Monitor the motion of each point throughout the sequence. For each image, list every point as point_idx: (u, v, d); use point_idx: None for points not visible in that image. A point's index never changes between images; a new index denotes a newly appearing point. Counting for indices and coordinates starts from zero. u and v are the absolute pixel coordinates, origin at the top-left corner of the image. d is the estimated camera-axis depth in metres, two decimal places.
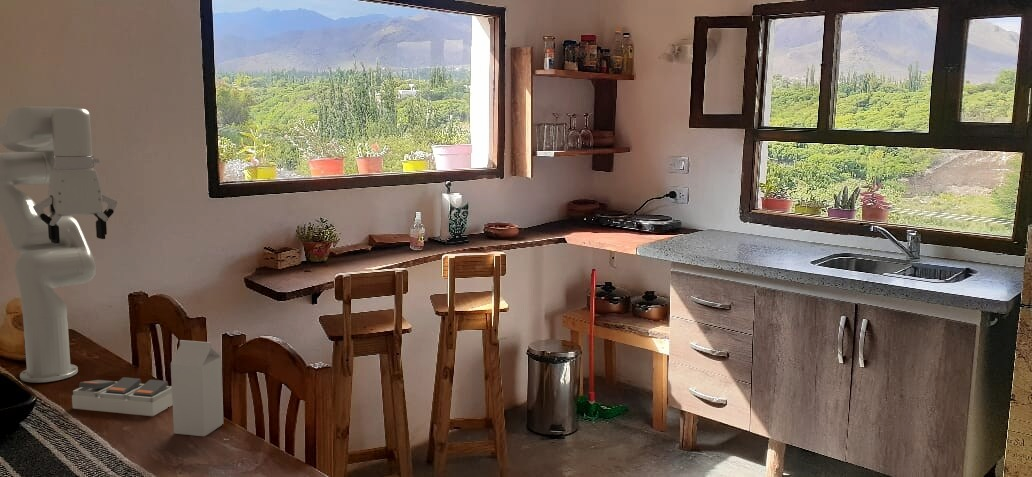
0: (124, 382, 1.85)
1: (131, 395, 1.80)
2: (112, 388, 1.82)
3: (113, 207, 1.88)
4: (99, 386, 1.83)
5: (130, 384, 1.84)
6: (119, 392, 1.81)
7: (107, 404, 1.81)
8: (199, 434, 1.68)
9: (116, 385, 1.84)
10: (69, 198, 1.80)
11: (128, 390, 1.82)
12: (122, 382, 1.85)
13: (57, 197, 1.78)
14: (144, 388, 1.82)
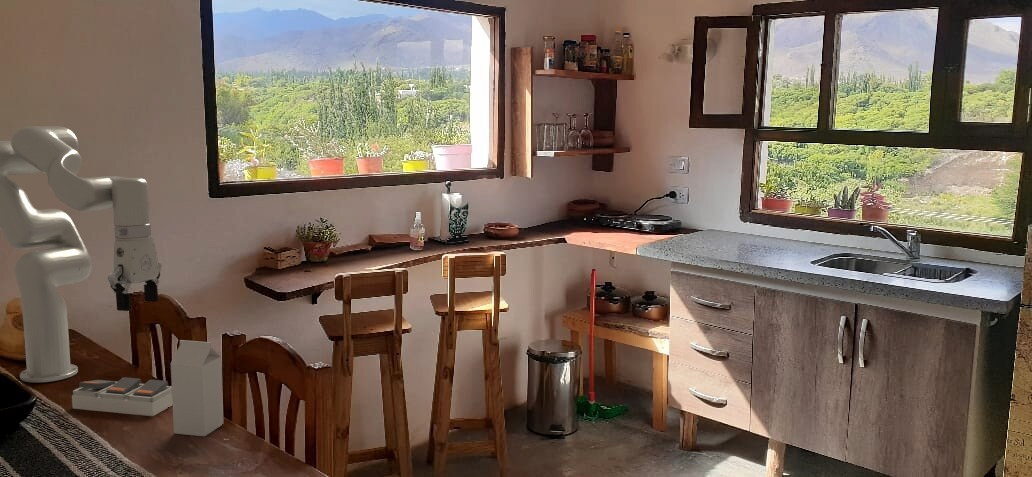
0: (124, 382, 1.85)
1: (131, 395, 1.80)
2: (112, 388, 1.82)
3: None
4: (99, 386, 1.83)
5: (130, 384, 1.84)
6: (119, 392, 1.81)
7: (107, 404, 1.81)
8: (199, 434, 1.68)
9: (116, 385, 1.84)
10: None
11: (128, 390, 1.82)
12: (122, 382, 1.85)
13: None
14: (144, 388, 1.82)
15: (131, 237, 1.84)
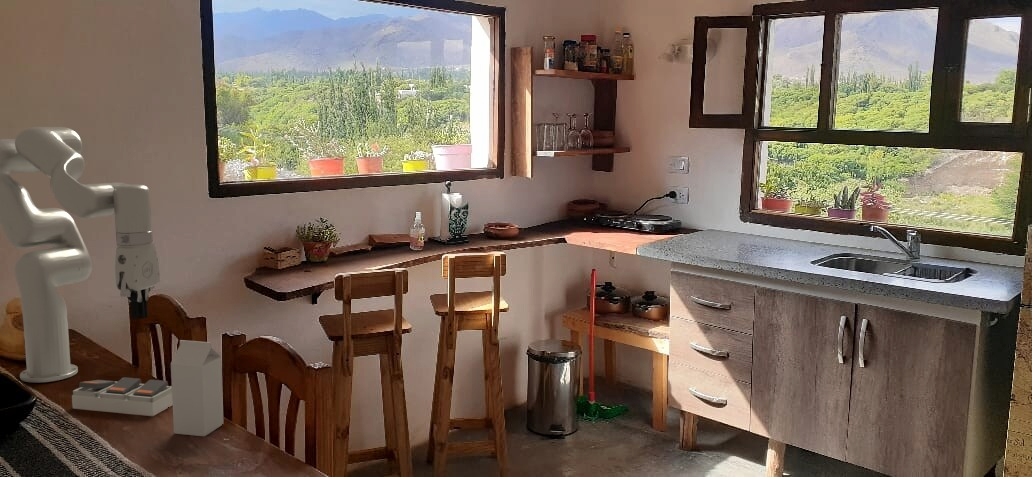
0: (124, 382, 1.85)
1: (131, 395, 1.80)
2: (112, 388, 1.82)
3: None
4: (99, 386, 1.83)
5: (130, 384, 1.84)
6: (119, 392, 1.81)
7: (107, 404, 1.81)
8: (199, 434, 1.68)
9: (116, 385, 1.84)
10: None
11: (128, 390, 1.82)
12: (122, 382, 1.85)
13: None
14: (144, 388, 1.82)
15: (133, 244, 1.83)
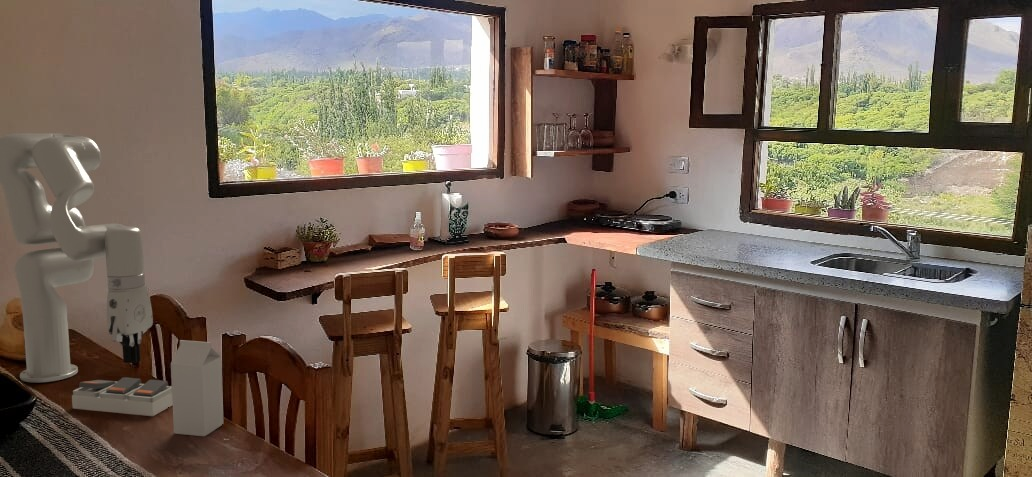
0: (124, 382, 1.85)
1: (131, 395, 1.80)
2: (112, 388, 1.82)
3: None
4: (99, 386, 1.83)
5: (130, 384, 1.84)
6: (119, 392, 1.81)
7: (107, 404, 1.81)
8: (199, 434, 1.68)
9: (116, 385, 1.84)
10: None
11: (128, 390, 1.82)
12: (122, 382, 1.85)
13: None
14: (144, 388, 1.82)
15: (124, 288, 1.80)
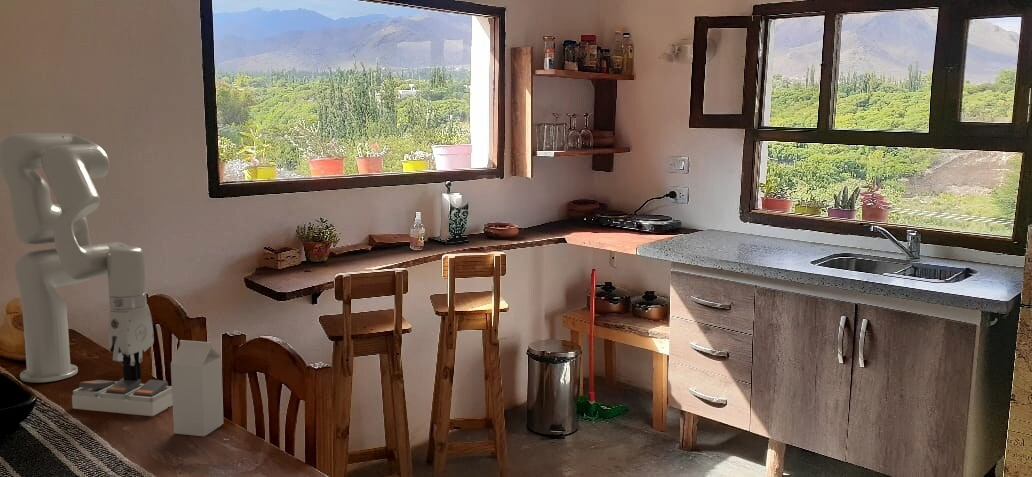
0: (124, 382, 1.85)
1: (131, 395, 1.80)
2: (112, 388, 1.82)
3: None
4: (99, 386, 1.83)
5: (130, 384, 1.84)
6: (119, 392, 1.81)
7: (107, 404, 1.81)
8: (199, 434, 1.68)
9: (116, 385, 1.84)
10: None
11: (128, 390, 1.82)
12: (122, 382, 1.85)
13: None
14: (144, 388, 1.82)
15: (126, 308, 1.81)
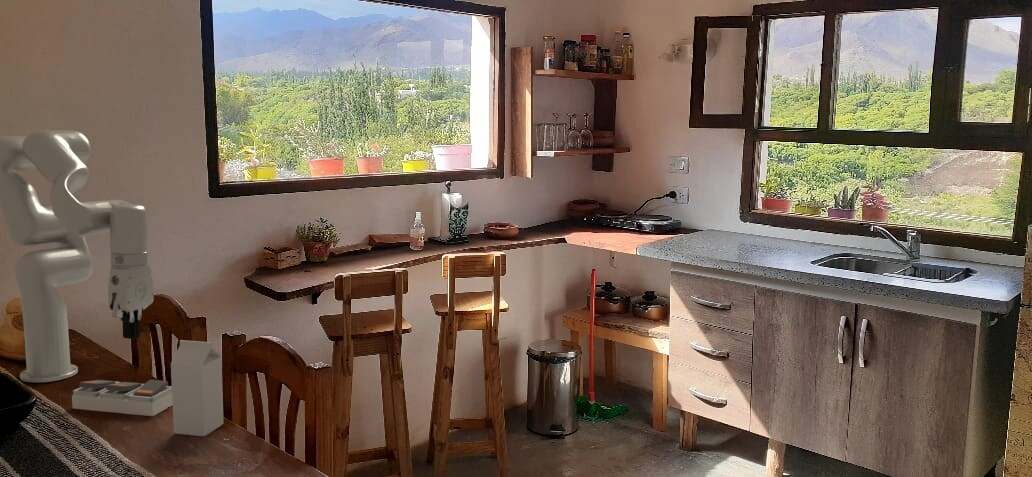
0: (125, 383, 1.85)
1: (131, 395, 1.80)
2: (113, 384, 1.82)
3: None
4: (99, 386, 1.83)
5: (131, 384, 1.84)
6: (119, 387, 1.81)
7: (107, 404, 1.81)
8: (199, 434, 1.68)
9: (117, 384, 1.84)
10: None
11: (128, 387, 1.82)
12: (123, 383, 1.85)
13: None
14: (144, 388, 1.82)
15: (127, 265, 1.82)
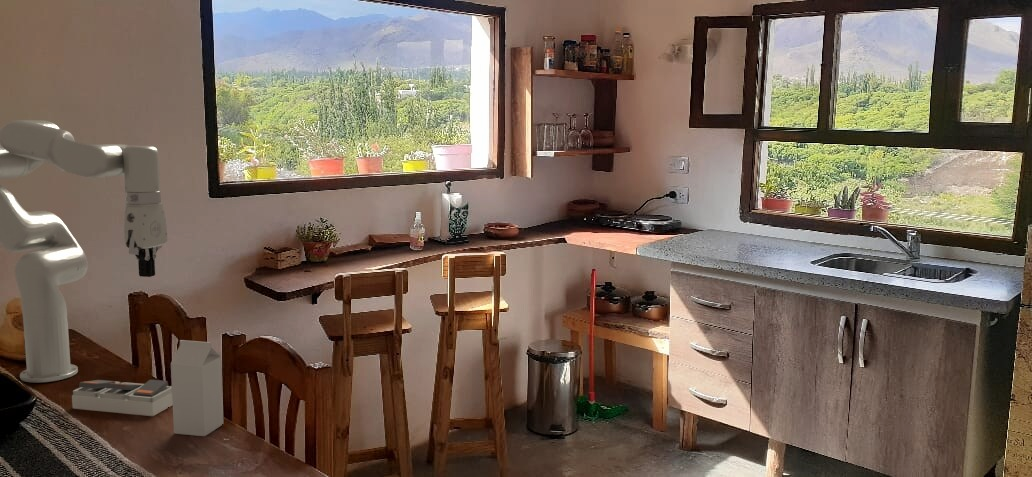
0: None
1: (131, 395, 1.80)
2: (113, 383, 1.82)
3: None
4: (99, 386, 1.83)
5: (131, 384, 1.84)
6: (119, 385, 1.81)
7: (107, 404, 1.81)
8: (199, 434, 1.68)
9: None
10: None
11: (128, 387, 1.82)
12: None
13: None
14: (144, 388, 1.82)
15: (142, 203, 1.88)
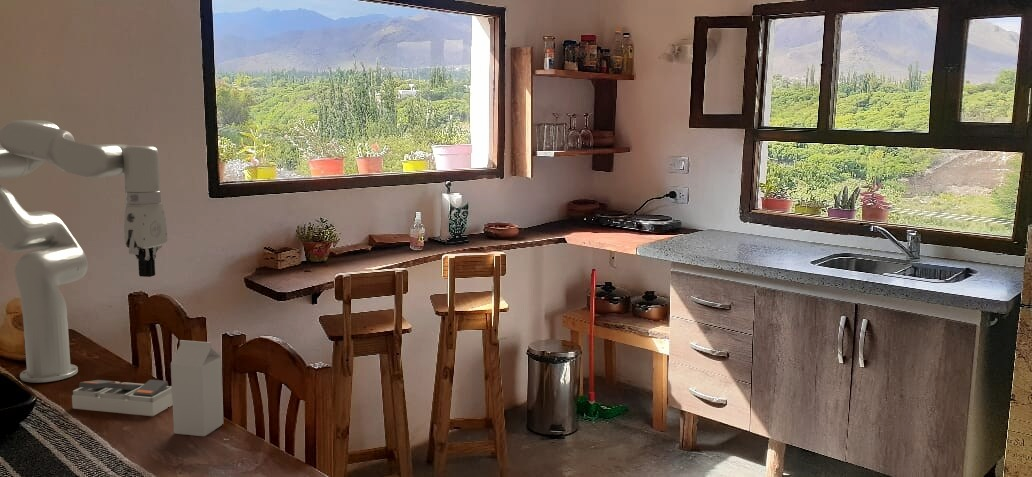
0: None
1: (131, 395, 1.80)
2: None
3: None
4: (99, 386, 1.83)
5: None
6: (119, 385, 1.81)
7: (107, 404, 1.81)
8: (199, 434, 1.68)
9: None
10: None
11: (128, 386, 1.82)
12: None
13: None
14: (144, 388, 1.82)
15: (142, 203, 1.88)
